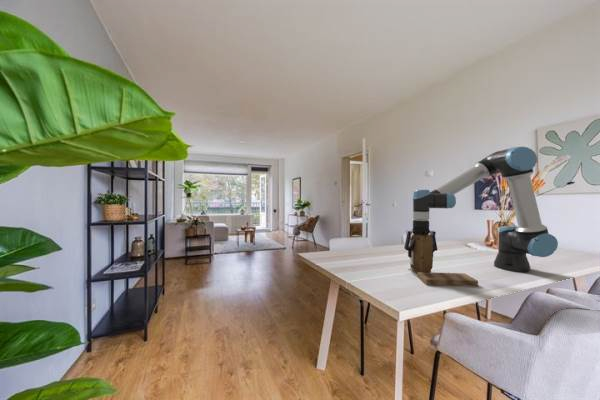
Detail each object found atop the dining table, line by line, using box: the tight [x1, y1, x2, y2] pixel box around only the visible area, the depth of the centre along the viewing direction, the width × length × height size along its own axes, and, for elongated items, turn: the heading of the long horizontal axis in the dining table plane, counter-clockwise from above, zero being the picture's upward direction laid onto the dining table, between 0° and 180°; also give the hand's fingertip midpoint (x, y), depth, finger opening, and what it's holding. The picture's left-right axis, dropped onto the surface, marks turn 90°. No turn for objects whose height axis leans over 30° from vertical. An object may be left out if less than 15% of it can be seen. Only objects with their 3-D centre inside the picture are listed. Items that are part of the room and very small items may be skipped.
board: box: [417, 272, 479, 287], centre depth 113 cm, size 22×10×3 cm, turn 86°
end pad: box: [407, 268, 418, 278], centre depth 125 cm, size 9×12×1 cm
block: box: [409, 233, 434, 273], centre depth 125 cm, size 11×8×20 cm
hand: (420, 263), depth 125 cm, fingers closed on block, 8 cm apart
